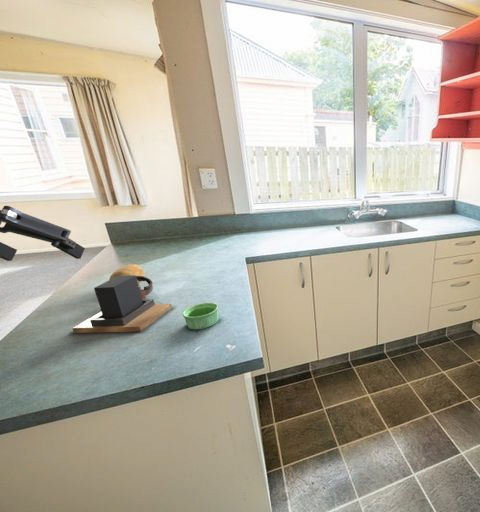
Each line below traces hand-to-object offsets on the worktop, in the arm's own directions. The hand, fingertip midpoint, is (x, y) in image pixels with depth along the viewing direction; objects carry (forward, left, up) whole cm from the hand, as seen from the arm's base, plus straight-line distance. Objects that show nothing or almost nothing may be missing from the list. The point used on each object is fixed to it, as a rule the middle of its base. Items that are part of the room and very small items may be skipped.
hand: (47, 254), depth 66 cm
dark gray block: (-1, +16, -24) cm, 29 cm away
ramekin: (+23, +13, -26) cm, 37 cm away
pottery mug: (-10, +31, -26) cm, 41 cm away
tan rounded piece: (-18, +41, -26) cm, 51 cm away
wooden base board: (-1, +16, -26) cm, 30 cm away
